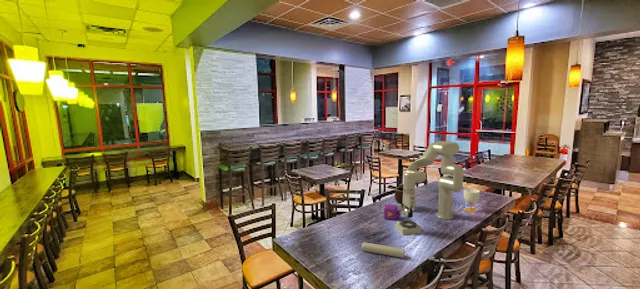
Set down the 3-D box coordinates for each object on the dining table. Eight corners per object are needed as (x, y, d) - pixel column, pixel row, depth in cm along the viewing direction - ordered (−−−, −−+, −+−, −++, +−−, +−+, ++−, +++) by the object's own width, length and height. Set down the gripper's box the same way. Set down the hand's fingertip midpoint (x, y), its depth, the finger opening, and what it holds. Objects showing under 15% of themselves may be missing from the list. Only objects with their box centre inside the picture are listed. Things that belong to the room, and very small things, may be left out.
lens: (409, 214, 193) (409, 206, 192) (413, 217, 188) (413, 208, 187) (402, 215, 192) (403, 206, 191) (406, 217, 187) (406, 209, 186)
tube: (360, 246, 164) (403, 253, 155) (362, 239, 169) (404, 246, 159) (360, 252, 167) (403, 260, 157) (362, 246, 171) (404, 253, 162)
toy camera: (402, 221, 208) (402, 208, 206) (383, 220, 210) (384, 207, 209) (401, 215, 218) (401, 203, 217) (383, 214, 221) (383, 202, 219)
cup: (463, 212, 222) (464, 191, 220) (461, 207, 233) (462, 187, 231) (479, 214, 218) (481, 193, 215) (477, 208, 229) (478, 189, 226)
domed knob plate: (413, 226, 198) (413, 219, 197) (421, 232, 188) (421, 225, 188) (395, 228, 195) (395, 221, 195) (402, 235, 185) (402, 227, 185)
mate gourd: (394, 210, 228) (394, 187, 225) (394, 205, 241) (395, 182, 238) (413, 212, 224) (414, 188, 221) (413, 206, 237) (413, 184, 234)
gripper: (421, 193, 180) (419, 220, 183) (407, 186, 197) (406, 210, 199) (410, 194, 179) (409, 221, 181) (397, 187, 195) (397, 211, 198)
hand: (408, 215), depth 190 cm, fingers closed on lens, 5 cm apart
